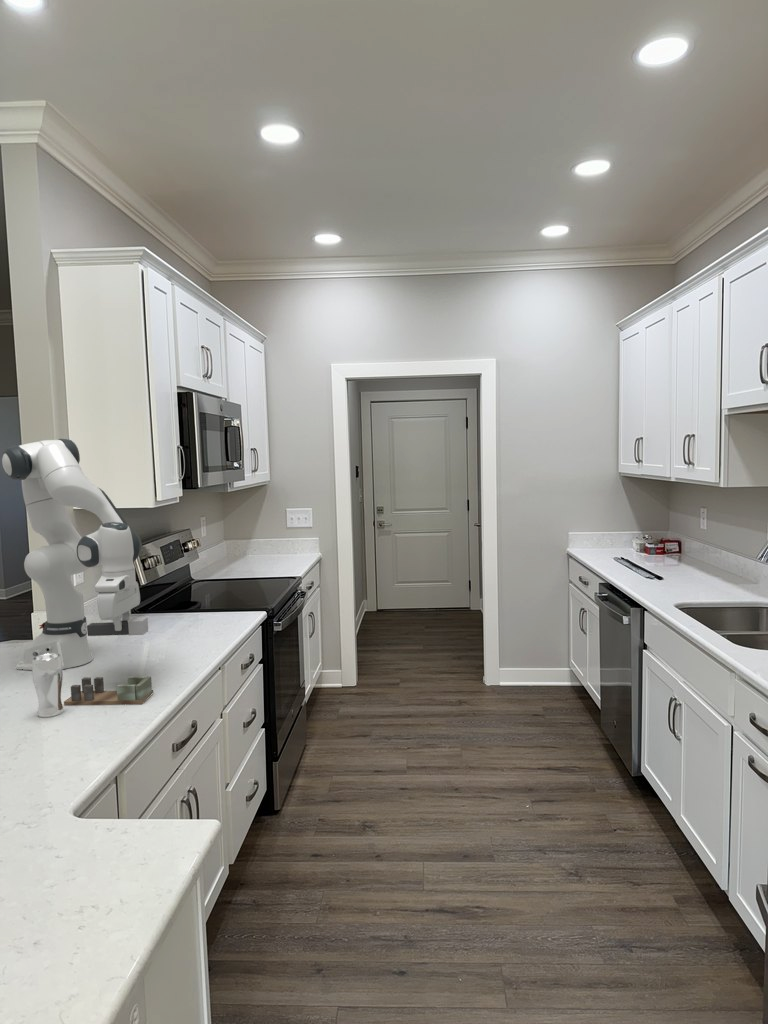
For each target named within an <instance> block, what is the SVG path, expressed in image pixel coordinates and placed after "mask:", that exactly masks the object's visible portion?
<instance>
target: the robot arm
mask: <svg viewBox="0 0 768 1024" xmlns="http://www.w3.org/2000/svg"><path fill="white" fill-rule="evenodd" d="M80 461H81V457H80V451H79V448H78V446H77V444H76V443H75V442H74V441H73V440H71V439H67V438H58V439H44V440H37V441H34V442H27V443H24V444H20V445H18V444H16V445H12V446H9V447H7V448H6V449H5V450H4V451H3V452H2V455H1V463H2V464H1V465H2V468H3V469H4V472H5V474H6V476H8V477H9V478H10V479H12V480H17V481H21V490H22V496H23V501H24V504H25V505H24V506H25V508H26V511H27V514H28V519H29V522H30V525H31V528H32V530H33V531H34V532H35V533H37V534H39V535H40V536H42V537H43V538H44V540H45V541H46V542H47V543H48V545H43V546H41V547H38V548H36V549H34V550H32V551H30V552H29V553H28V554H27V555H26V556H25V559H24V562H23V566H24V567H23V568H24V571H25V573H26V575H27V576H28V577H29V579H31V580H33V581H34V582H35V583H37V585H38V586H39V588H40V591H41V592H42V595H43V598H44V599H43V600H44V604H45V612H46V621H45V622H42V624H40V625H39V630H41V629H42V632H41V633H40V634H39V635H38V636H37V637H36V638H35V639H33V640H32V641H31V642H30V643H29V644H27V646H26V647H25V648H24V651H23V652H24V653H23V659H22V660H20V661H19V662H17V664H16V666H15V667H16V668H15V669H16V670H22V669H23V671H24V670H25V671H32V663H33V660H32V659H33V658H34V657H35V656H38V655H42V654H47V653H58V654H60V655H61V662H62V669H63V670H65V669H71V668H75V667H78V666H83V665H86V664H88V663H90V662H91V661H93V660H94V657H93V655H92V652H91V649H90V646H89V642H88V641H89V640H88V632H87V625H88V624H87V617H86V616H85V605H84V601H85V600H84V595H83V593H82V591H80V590H79V589H77V588H76V587H75V585H74V584H73V581H72V577H71V576H74V575H77V574H82V573H83V572H85V571H87V570H88V569H90V568H101V571H100V572H101V576H100V578H99V579H98V581H97V583H96V584H95V585H94V591H95V593H97V596H96V601H97V611H98V616H99V618H100V620H101V621H111V622H113V623H114V625H115V630H116V631H121V630H122V629H123V623H121V622H128V621H129V620H131V619H130V618H131V615H132V609H134V608H135V607H138V606H139V605H140V604H141V603H140V602H141V593H140V588H139V587H140V585H139V583H138V581H136V580H137V577H136V566H135V564H134V562H135V561H137V559H138V558H139V556H140V555H141V552H142V550H143V543H142V540H141V538H140V536H139V535H138V534H137V532H136V531H135V530H133V528H132V527H131V526H130V525H129V523H128V522H127V521H126V520H125V518H124V517H123V516H122V514H121V513H120V511H119V510H118V509H117V507H116V506H115V504H114V502H113V501H112V500H111V498H110V497H109V496H108V495H107V493H106V492H105V491H104V490H103V489H102V488H99V487H98V486H96V484H94V483H93V482H92V481H91V480H90V479H89V478H88V477H87V476H86V475H85V473H84V472H83V470H82V468H81V466H80ZM66 506H67V507H71V508H77V509H82V510H85V511H88V512H90V513H93V514H94V515H96V516H97V517H98V519H99V520H100V521H101V522H102V524H101V525H100V526H99V528H98V529H97V530H96V531H94V532H91V533H90V534H87V535H85V536H81V534H79V532H78V531H77V529H76V527H75V526H74V525H73V523H72V521H71V517H70V516H69V513H68V510H67V507H66Z"/></svg>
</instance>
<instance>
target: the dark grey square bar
mask: <svg viewBox="0 0 768 1024" xmlns="http://www.w3.org/2000/svg"><path fill="white" fill-rule="evenodd" d="M121 623H123V629H122V630H121V631H116V630H115V625H114V623H113V621H111V622H91V623H89V624H87V637H100V636H102V637H103V636H105V637H106V636H144V635H145V634H147V633H148V632H149V619H148V617H146V616H145V617H133V618H131V619H129V621H128V622H121Z"/></svg>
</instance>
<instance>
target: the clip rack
mask: <svg viewBox="0 0 768 1024" xmlns="http://www.w3.org/2000/svg"><path fill="white" fill-rule="evenodd" d="M126 682H127V684H118V685H116V690H105V686H104V677H102V676H99V677H98V676H96V677H95V678H93V684H92V677H91V676H89V677H86V676H85V677H82V678H81V684H73V685H71V686H70V695H71V696H70V697H68V698H67V699H65V700H64V701H63V706H104V705H105V706H109V705H110V706H113V705H115V706H117V705H119V706H120V705H124V706H125V704H126V705H143V704H144V703H145V702H146V701H147V700H148V699H149V698H150V697H151V696H152V695H153V694H154V690H153V687H152V686H153V684H152V683H153V682H152V676H149V675H148V676H127V677H126ZM152 693H153V694H152ZM151 694H152V695H151ZM150 695H151V696H150ZM149 696H150V697H149ZM148 697H149V698H148ZM147 698H148V699H147ZM146 699H147V700H146ZM145 700H146V701H145ZM144 701H145V702H144ZM143 702H144V703H143ZM142 703H143V704H142Z"/></svg>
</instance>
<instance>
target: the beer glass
mask: <svg viewBox="0 0 768 1024" xmlns="http://www.w3.org/2000/svg"><path fill="white" fill-rule="evenodd" d="M32 660H33V663H32V670H31V671H32V681H33V685H34V689H35V692H36V695H37V701H38V706H37V716H38V717H39V718H51V717H55V716H58V715H60V714H62V713H63V712H64V705H63V704H62V688H63V678H64V677H63V675H64V674H63V670H64V669H62V662H61V655H60V654H58V653H47V654H42V655H38V656H35V657H34V658H33V659H32Z"/></svg>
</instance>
